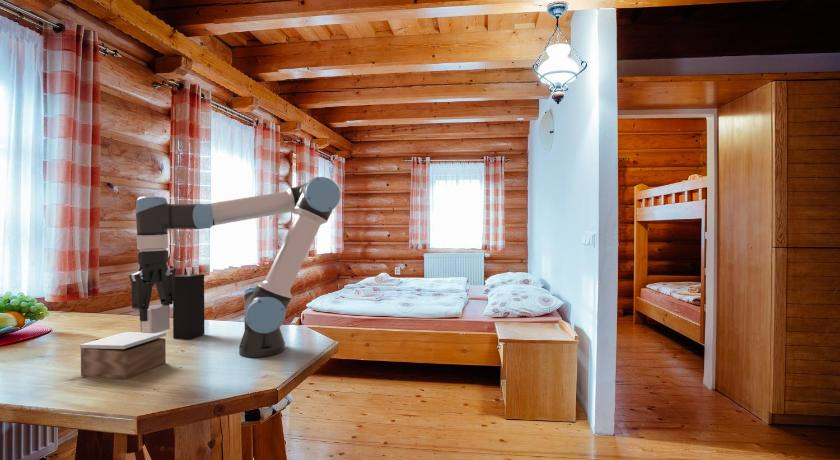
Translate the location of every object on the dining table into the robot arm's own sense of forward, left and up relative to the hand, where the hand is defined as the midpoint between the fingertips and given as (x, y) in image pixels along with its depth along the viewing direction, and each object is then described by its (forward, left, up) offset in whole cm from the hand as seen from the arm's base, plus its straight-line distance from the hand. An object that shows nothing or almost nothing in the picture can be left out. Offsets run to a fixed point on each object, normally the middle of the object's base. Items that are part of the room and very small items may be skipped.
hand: (155, 329), depth 116 cm
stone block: (0, 0, 0) cm, 0 cm away
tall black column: (+24, -39, -14) cm, 48 cm away
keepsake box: (+15, -4, -14) cm, 21 cm away
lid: (+15, -4, -6) cm, 17 cm away
